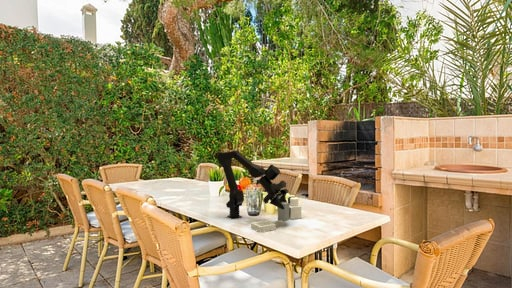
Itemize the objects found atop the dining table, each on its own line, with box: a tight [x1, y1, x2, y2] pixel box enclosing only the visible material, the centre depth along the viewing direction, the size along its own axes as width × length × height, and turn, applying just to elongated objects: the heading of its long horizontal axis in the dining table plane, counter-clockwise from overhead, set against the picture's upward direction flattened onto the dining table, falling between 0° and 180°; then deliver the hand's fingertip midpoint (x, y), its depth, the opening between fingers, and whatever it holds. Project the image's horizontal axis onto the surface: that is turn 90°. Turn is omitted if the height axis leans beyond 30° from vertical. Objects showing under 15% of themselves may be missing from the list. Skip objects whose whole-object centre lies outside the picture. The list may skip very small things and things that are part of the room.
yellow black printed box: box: [287, 196, 302, 220], centre depth 203 cm, size 7×7×12 cm
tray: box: [250, 220, 277, 233], centre depth 181 cm, size 9×9×3 cm
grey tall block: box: [277, 201, 290, 222], centre depth 187 cm, size 4×4×9 cm
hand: (285, 208), depth 186 cm, fingers closed on grey tall block, 4 cm apart
